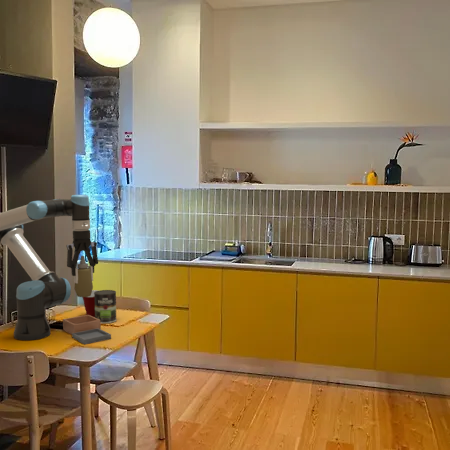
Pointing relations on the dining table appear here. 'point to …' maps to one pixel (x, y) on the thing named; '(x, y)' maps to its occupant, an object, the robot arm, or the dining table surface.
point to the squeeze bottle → (83, 280)
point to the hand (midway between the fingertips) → (83, 281)
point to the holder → (81, 324)
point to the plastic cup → (90, 304)
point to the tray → (91, 336)
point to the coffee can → (105, 306)
